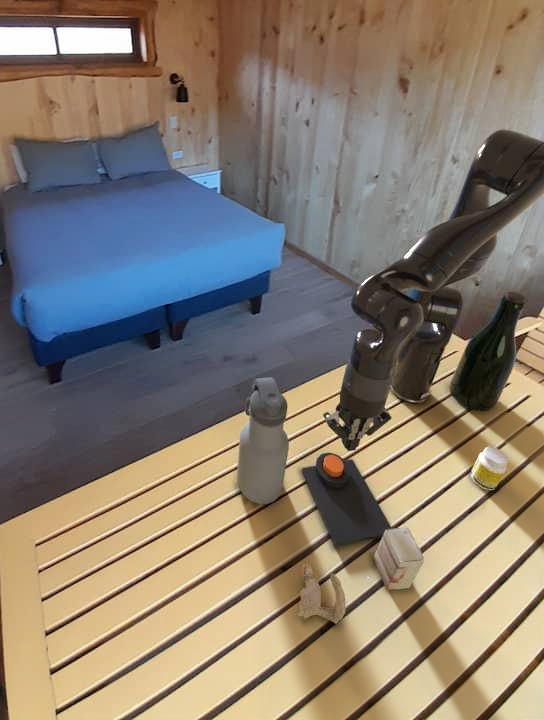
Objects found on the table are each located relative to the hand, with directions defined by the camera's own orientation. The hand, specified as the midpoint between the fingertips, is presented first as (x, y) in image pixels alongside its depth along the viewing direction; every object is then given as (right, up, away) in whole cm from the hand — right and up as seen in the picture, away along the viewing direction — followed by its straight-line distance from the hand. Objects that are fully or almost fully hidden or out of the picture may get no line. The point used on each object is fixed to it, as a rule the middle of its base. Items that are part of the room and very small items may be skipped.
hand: (348, 446), depth 79 cm
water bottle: (-16, -12, +8) cm, 22 cm away
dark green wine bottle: (+44, -1, +27) cm, 52 cm away
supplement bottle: (+32, -11, +8) cm, 35 cm away
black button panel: (+1, -14, +4) cm, 14 cm away
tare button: (0, -9, +8) cm, 12 cm away
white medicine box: (+5, -19, -7) cm, 21 cm away
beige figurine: (-11, -22, -11) cm, 27 cm away
